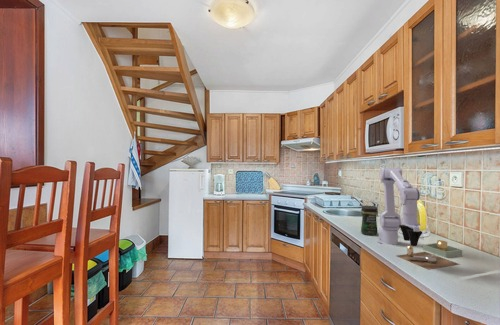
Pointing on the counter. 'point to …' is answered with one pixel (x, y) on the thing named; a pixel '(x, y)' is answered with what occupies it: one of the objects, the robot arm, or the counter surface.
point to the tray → (450, 251)
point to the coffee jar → (369, 220)
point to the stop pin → (442, 245)
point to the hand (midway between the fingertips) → (410, 243)
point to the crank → (424, 258)
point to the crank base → (439, 262)
